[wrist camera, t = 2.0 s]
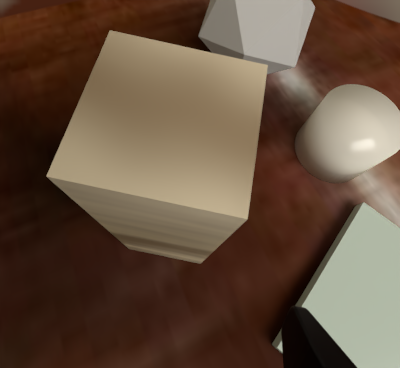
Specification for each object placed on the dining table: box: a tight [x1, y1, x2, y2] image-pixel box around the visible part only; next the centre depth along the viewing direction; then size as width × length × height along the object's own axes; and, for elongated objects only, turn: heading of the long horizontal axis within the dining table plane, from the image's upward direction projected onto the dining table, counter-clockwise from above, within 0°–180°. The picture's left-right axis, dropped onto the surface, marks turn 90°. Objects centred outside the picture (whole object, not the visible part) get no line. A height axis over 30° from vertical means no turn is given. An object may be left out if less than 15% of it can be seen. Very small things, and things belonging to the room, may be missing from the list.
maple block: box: [46, 30, 268, 264], centre depth 14 cm, size 5×5×13 cm
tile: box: [272, 202, 400, 368], centre depth 18 cm, size 12×12×1 cm
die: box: [198, 0, 315, 74], centre depth 22 cm, size 8×9×10 cm
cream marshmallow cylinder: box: [295, 84, 400, 183], centre depth 21 cm, size 6×6×4 cm
